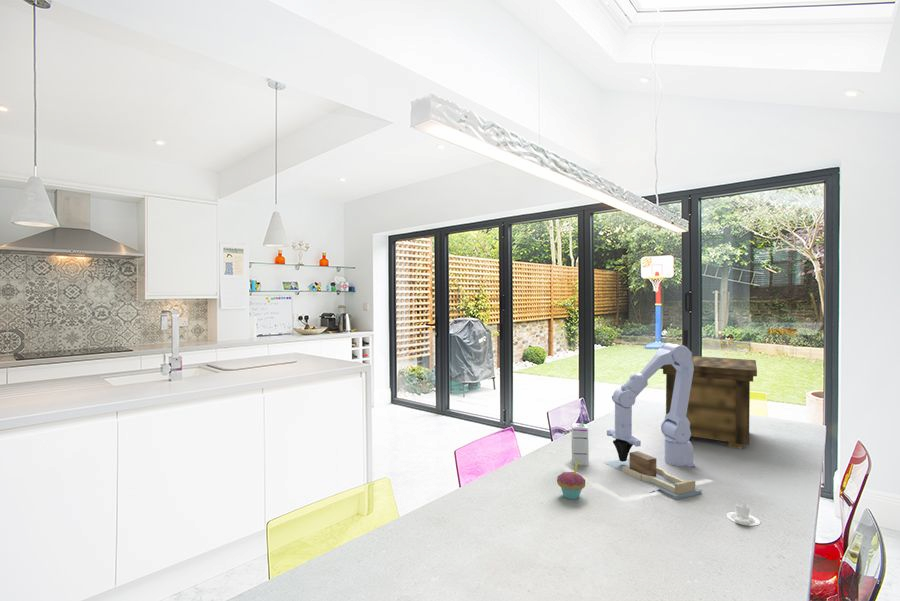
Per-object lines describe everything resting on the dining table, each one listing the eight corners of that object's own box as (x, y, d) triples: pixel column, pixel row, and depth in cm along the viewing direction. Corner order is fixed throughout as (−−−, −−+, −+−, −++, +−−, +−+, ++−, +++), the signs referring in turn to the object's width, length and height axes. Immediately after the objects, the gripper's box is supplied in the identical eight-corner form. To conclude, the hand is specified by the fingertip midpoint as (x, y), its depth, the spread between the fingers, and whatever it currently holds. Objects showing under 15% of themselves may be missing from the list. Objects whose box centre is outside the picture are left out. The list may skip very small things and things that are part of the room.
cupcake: (586, 492, 146) (586, 454, 146) (584, 504, 138) (584, 463, 138) (558, 488, 149) (558, 451, 149) (555, 499, 141) (555, 460, 141)
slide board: (626, 461, 174) (626, 450, 174) (701, 493, 146) (701, 480, 146) (603, 465, 170) (603, 454, 170) (676, 499, 141) (676, 486, 141)
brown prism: (637, 467, 165) (638, 450, 164) (656, 475, 157) (656, 458, 157) (629, 469, 163) (629, 452, 163) (647, 477, 156) (647, 459, 156)
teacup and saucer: (747, 530, 124) (747, 515, 124) (718, 518, 131) (718, 503, 131) (766, 523, 128) (766, 508, 128) (737, 511, 135) (737, 497, 135)
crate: (659, 438, 201) (659, 363, 201) (670, 420, 231) (670, 354, 230) (756, 453, 182) (757, 370, 182) (754, 431, 212) (755, 360, 212)
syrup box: (589, 468, 167) (589, 427, 167) (571, 467, 168) (572, 426, 168) (587, 462, 172) (587, 423, 172) (571, 461, 174) (571, 422, 173)
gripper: (600, 419, 173) (600, 455, 173) (630, 429, 160) (629, 469, 160) (615, 417, 176) (614, 453, 176) (645, 427, 163) (645, 466, 163)
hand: (622, 460), depth 168 cm, fingers closed
